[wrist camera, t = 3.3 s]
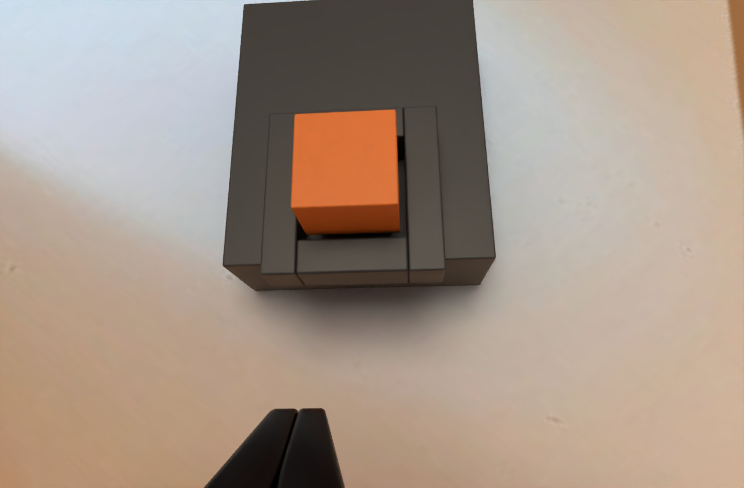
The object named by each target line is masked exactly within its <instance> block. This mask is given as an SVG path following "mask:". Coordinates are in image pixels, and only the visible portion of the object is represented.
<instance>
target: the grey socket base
mask: <svg viewBox="0 0 744 488" xmlns="http://www.w3.org/2000/svg"><path fill="white" fill-rule="evenodd" d="M373 110H396V124H397V150H398V183H399V217H400V232H390V233H360V234H329V235H307V234H306V233H305V231H304V229H303V228H302V226H301V224H300V222H299V221H298V219H297V217H296V216H295V214H294V212H293V210H292V209H291V188H292V163H293V139H294V116H295V114H309V113H330V112H352V111H373ZM495 258H496V254H495V243H494V231H493V220H492V209H491V198H490V187H489V176H488V164H487V153H486V142H485V131H484V120H483V109H482V97H481V86H480V75H479V64H478V53H477V42H476V31H475V19H474V8H473V0H310V1H293V2H276V3H260V4H245V5H244V10H243V22H242V34H241V46H240V59H239V71H238V83H237V95H236V108H235V120H234V132H233V144H232V157H231V169H230V181H229V193H228V206H227V218H226V230H225V242H224V255H223V266H224V267H225V268H226V269H228V270H229V271H230V272H231V273H233V274H234V275H235V276H237V277H238V278H239V279H241V280H242V281H243V282H244V283H246V284H247V285H248V286H250V287H251V288H252V289H254V290H255V291H259V290H298V289H336V288H375V287H413V286H451V285H479V284H480V283H481V282H482V280H483V278H484V277H485V275H486V273H487V271H488V270H489V268H490V266H491V265H492V263H493V261H494V260H495Z"/></svg>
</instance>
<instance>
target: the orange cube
mask: <svg viewBox="0 0 744 488" xmlns="http://www.w3.org/2000/svg"><path fill="white" fill-rule="evenodd" d="M291 209H292V210H293V212H294V214H295V216H296V217H297V219H298V221H299V222H300V224H301V226H302V228H303V229H304V231H305V233H306V234H307V235H329V234H360V233H390V232H400V217H399V183H398V150H397V124H396V110H373V111H352V112H330V113H309V114H295V116H294V139H293V163H292V188H291Z"/></svg>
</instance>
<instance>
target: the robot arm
mask: <svg viewBox="0 0 744 488" xmlns="http://www.w3.org/2000/svg"><path fill="white" fill-rule="evenodd" d="M204 488H345V486H344V483H343V479H342V475H341V471H340V467H339V463H338V459H337V455H336V451H335V447H334V443H333V440H332V436H331V432H330V428H329V424H328V420H327V416H326V413H325V410H324V409H322V408H303V409H301V410H299V412H298V410H296V409H274V410H272V411H270V412H269V413H268V414H267V415H266V417H265V418H264V419H263V420H262V421H261V422H260V424H259V425H258V426H257V427H256V428H255V429H254V430H253V432H252V433H251V434H250V435H249V436H248V437H247V439H246V440H245V441H244V442H243V443H242V444H241V446H240V447H239V448H238V449H237V450H236V451H235V452H234V454H233V455H232V456H231V457H230V458H229V459H228V461H227V462H226V463H225V464H224V465H223V466H222V467H221V469H220V470H219V471H218V472H217V473H216V474H215V476H214V477H213V478H212V479H211V480H210V481H209V482H208V484H207V485H206V486H205V487H204Z"/></svg>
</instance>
